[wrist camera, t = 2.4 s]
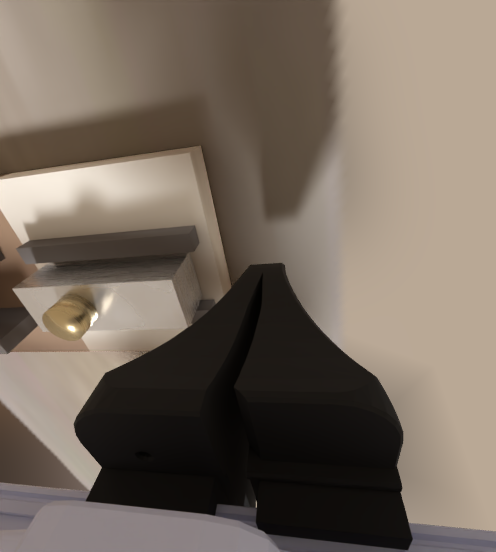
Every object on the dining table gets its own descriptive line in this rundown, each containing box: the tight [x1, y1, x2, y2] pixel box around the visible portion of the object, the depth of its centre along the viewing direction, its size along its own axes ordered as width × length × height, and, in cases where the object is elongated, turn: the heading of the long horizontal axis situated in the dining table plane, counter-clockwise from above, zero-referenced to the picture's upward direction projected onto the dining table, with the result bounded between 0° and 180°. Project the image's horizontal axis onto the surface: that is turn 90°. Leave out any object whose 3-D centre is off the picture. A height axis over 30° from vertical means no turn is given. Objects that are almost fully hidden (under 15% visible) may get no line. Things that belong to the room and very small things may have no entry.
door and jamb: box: [0, 146, 231, 354], centre depth 14 cm, size 10×15×4 cm, turn 99°
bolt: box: [12, 252, 202, 341], centre depth 12 cm, size 2×7×3 cm, turn 99°
